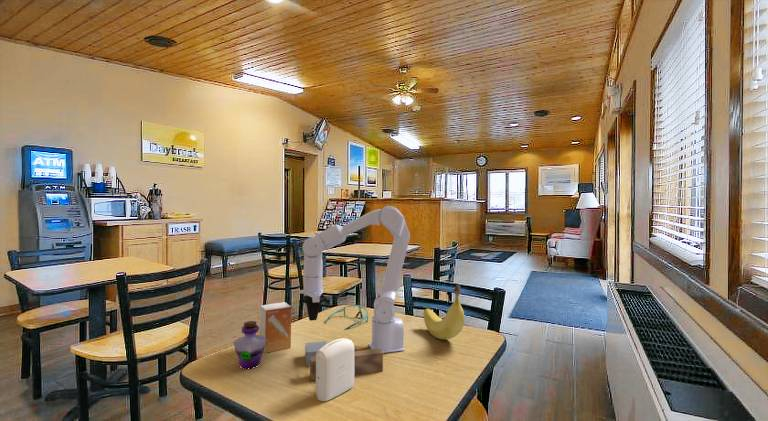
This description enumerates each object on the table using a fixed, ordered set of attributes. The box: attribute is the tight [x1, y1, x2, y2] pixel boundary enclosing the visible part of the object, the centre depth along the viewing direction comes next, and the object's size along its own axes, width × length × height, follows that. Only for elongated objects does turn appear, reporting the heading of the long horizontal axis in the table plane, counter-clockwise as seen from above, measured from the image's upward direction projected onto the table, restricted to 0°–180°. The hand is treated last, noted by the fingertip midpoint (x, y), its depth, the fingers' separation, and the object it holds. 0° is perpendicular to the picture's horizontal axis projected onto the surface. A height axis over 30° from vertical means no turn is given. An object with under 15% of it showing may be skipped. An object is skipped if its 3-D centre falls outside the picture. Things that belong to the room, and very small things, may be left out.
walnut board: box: [309, 349, 384, 382], centre depth 100 cm, size 19×3×5 cm, turn 108°
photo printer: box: [315, 338, 355, 402], centre depth 90 cm, size 10×4×12 cm, turn 140°
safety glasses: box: [324, 304, 369, 331], centre depth 142 cm, size 14×15×5 cm
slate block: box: [304, 340, 327, 367], centre depth 108 cm, size 6×7×4 cm
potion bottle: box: [233, 320, 267, 370], centre depth 104 cm, size 9×9×12 cm
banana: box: [422, 284, 465, 340], centre depth 126 cm, size 23×6×20 cm, turn 22°
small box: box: [259, 301, 292, 353], centre depth 116 cm, size 8×6×13 cm
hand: (312, 319), depth 116 cm, fingers closed
